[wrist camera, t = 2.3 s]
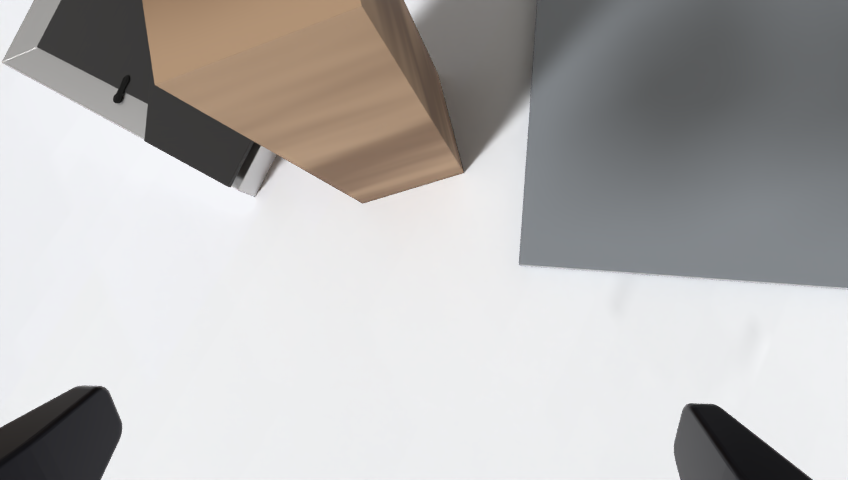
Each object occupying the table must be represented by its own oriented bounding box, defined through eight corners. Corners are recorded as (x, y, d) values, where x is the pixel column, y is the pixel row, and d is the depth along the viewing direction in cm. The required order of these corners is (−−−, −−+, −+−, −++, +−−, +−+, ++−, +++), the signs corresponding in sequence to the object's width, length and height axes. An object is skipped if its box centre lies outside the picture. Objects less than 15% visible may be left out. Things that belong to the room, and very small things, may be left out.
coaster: (885, 292, 17) (897, 291, 16) (519, 265, 20) (519, 264, 19) (882, -43, 18) (892, -54, 18) (539, -22, 21) (539, -32, 21)
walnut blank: (464, 172, 21) (361, 5, 9) (362, 203, 22) (154, 84, 10) (438, 74, 22) (314, -190, 10) (341, 107, 23) (127, -103, 11)
